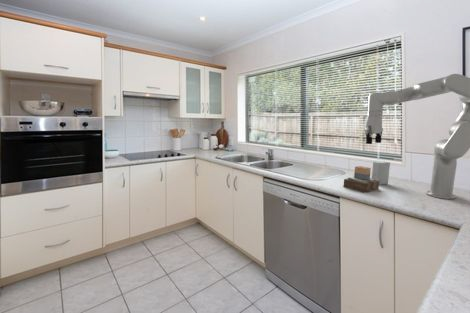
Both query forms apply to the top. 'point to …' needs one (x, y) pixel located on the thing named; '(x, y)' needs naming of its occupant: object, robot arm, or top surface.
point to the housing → (362, 173)
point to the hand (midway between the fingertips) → (373, 143)
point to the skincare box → (381, 171)
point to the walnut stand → (361, 184)
